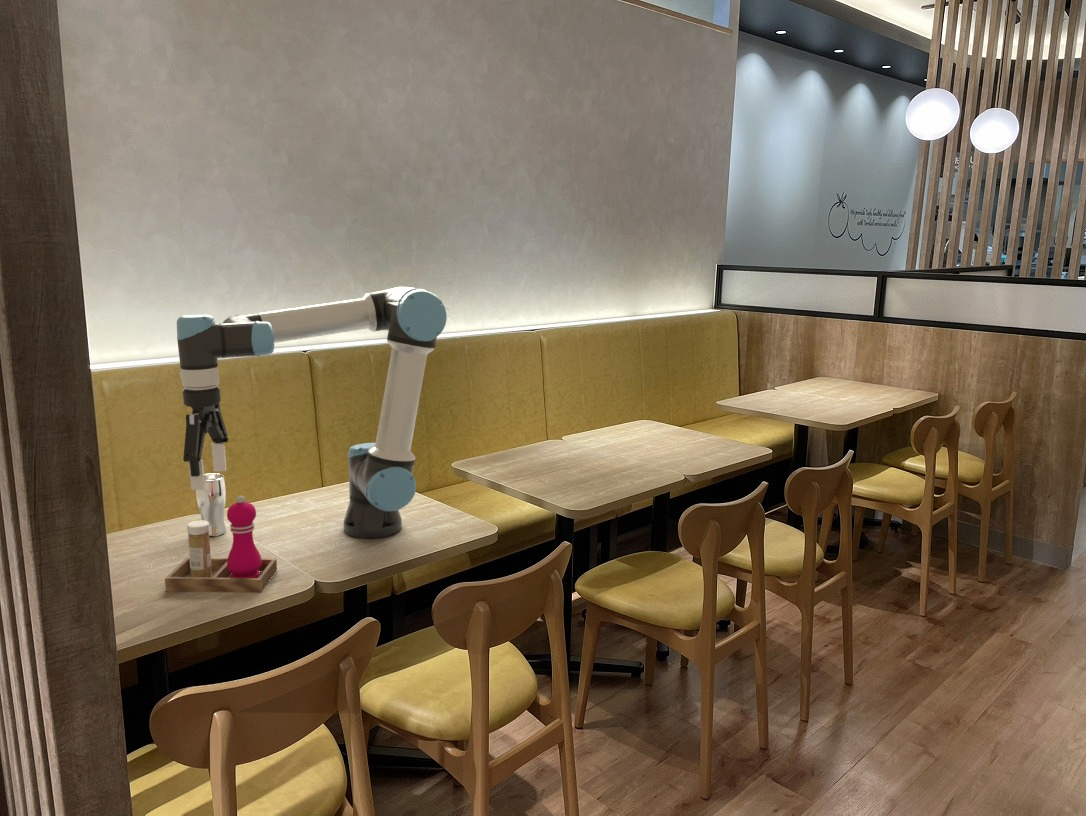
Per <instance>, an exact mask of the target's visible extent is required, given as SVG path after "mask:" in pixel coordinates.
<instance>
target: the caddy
mask: <svg viewBox="0 0 1086 816" xmlns="http://www.w3.org/2000/svg"><path fill="white" fill-rule="evenodd" d="M227 559H228V557H211V571H212V572H215V573H214V575H212V578H211V577H191V576H187V575H188V574H189V573H190V572H191V568H190V558H189V556H188V557H185V558H184V559H183V560H182V561H181V562H180V563H179V564H178V565H177V566H176V567H175V568H174V569H173V570H172V571H171V572H170V573H169V574H168V575H167V576H165V578H164V585H165V587H164V588H165V592H180V593H181V592H192V593H194V592H195V593H206V592H207V593H248V594H249V593H251V594H252V593H253V594H255V593H257V594H258V593H259V594H261V593H262V592H263V591H264V590H265V588H266V587H267V585H268V584H269V583H270V581H271V580H272V578H273V577H274V576H275V574H276V573H277V572H276V570H277V571H278V565H277V564H278V561H277V559H278V558H267V557H266V558H264V557H263V558H262V557H261V561H262V563H261V566H260V568H259V569H258V571H263V572H260V576H259V577H258V578H230V575H231V573H232V572H230V571H229V570H228V568H227ZM275 572H276V573H275ZM274 573H275V574H274ZM273 575H274V576H273ZM272 576H273V577H272ZM271 577H272V578H271ZM270 579H271V580H270ZM269 580H270V581H269ZM268 582H269V583H268ZM267 583H268V584H267ZM265 586H266V587H265Z"/></svg>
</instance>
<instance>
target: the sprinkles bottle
mask: <svg viewBox="0 0 1086 816" xmlns="http://www.w3.org/2000/svg"><path fill="white" fill-rule="evenodd" d="M186 530H187V531H186V533H187V535H188V555H189V556H188V557H189V558H190V568H191V571H190V577H211V578H212V577H213V575H212V573H213V571H211V558H212V557H211V555H212V554H211V545H210V537H209V530H210V526H209V522H207V521H203V520H202V519H200V520H194V521H190V522H188V523H187V525H186Z"/></svg>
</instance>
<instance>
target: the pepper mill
mask: <svg viewBox="0 0 1086 816" xmlns="http://www.w3.org/2000/svg"><path fill="white" fill-rule="evenodd" d="M235 500H236V502H235V503H232V504H230V506H229V507H228V509H227V511H226V519H227V520H228V522H229V523H231V524H230V525H229V527H230V530H229V531H230V532H231V533H232V545H231V548H230V551H229V553H228V555H227V558H228V559H227V568H228V570H229V571H230V572H232V573H231V575H230V576H229V578H258V577H259V576H260V575H261V572H259V571H258V569H259V568H260V566H261V563H262V561H261V558H262V556H261V553H260V552H259V549H258V547H256V544H255V541H254V537H253V534H254V533H253V532H254V530H255V522H254V520H255V519H256V516H257V511H256V507H255V505H254V504H252V503H251V502H248V501H246V497H245V496H244V495H239V496H237V497H236V499H235Z"/></svg>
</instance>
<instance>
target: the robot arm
mask: <svg viewBox="0 0 1086 816" xmlns="http://www.w3.org/2000/svg"><path fill="white" fill-rule="evenodd" d="M446 325H447V310H446V307H445V305H444V303H443V302H442V300H441V298H440V297H438V296H437V295H436V294H434V293H433V292H431V291H429V290H427V289H424V288H416V287H412V286H407V285H403V286H402V285H401V286H397V287H393V288H388V289H384V290H380V291H373V292H367V293H365V294H364V295H363V297H362V298H355V299H348V300H347V299H346V300H342V301H340V300H339V301H335V302H328V303H322V304H321V303H320V304H313V305H306V306H300V307H295V308H294V307H293V308H285V309H279V310H272V311H265V312H258V313H251V314H246V315H242V314H233V315H230V316H228V317H226V318H225V319H224V320H223V321H222V323H217V322H216V321H215V320H214V316H213V315H212V314H211V315H210V314H187V315H181V316H180V317H178V318H177V320H176V339H177V348H178V357H179V365H180V371H179V373H178V376H180V377H181V385H182V386H183V389H182V400H183V405H184V406H186V407H189V408H191V409H192V412H191V414H186V415H185V423H186V424H185V434H184V435H185V437H184V447H183V462H184V463H185V462H186V463H187V462H188V468H189V470H188V471H189V478H190V489H191V491H196V490H205V489H206V488H205V478H204V474H205V471H204V470H205V469H204V461H203V459H202V455H203V449H204V443H205V437H206V434H208V435H209V438H210V439H211V442H212V443H211V444H210V446H211V458H212V468H213V472H226V471H227V459H226V447H225V446H226V445H225V443H229V437H228V431H227V429H226V425H225V422H224V418H223V414H222V411H221V405H220V403H221V401H222V397H221V387H220V386H219V384H220V382H221V380H220V374H219V364H218V359H226V358H239V357H240V358H242V357H243V358H244V357H258V358H259V357H262V356H269V355H272V354H273V353H274V350H275V344H277V343H282V342H290V341H296V340H297V341H298V340H302V339H307V338H315V337H321V336H327V335H328V336H329V335H333V334H334V335H335V334H340V333H347V332H354V331H361V330H366V329H368V330H369V331H371V332H379V331H387V336H386V341H387V343H388V344H389V346H390V347H391V351H390V357H389V365H388V367H387V368H388V370H387V375H386V380H385V381H386V382H385V387H384V392H383V393H384V394H383V397H382V405H381V409H380V416H379V421H378V428H377V433H376V439H375V442H367V443H365V442H364V443H359V444H358V443H357V444H354V445H352V446H350V448H349V449H348V457H347V460H348V482H349V483H348V486H349V487H348V488H349V491H348V492H349V503H348V506H347V509H346V513H345V516H344V519H343V523H342V524H343V532H344V533H345V534H346V535H348V536H350V537H353V538H360V539H377V538H378V539H379V538H384V537H390V536H393V535H395V534H397V533H399V532H400V531H401V530H400V529H402V527H403V520H402V517H401V514H400V510H401V509H403V508H405V507H406V506H407V505H409V504H410V503H411V502H412V500H413V498H414V497H415V494H416V492H417V491H416V490H417V482H416V479H415V476H414V474H413V473H414V469H415V461H416V456H415V455H414V453H413V452H412V450H411V449H412V443H413V437H414V431H415V426H416V420H417V414H418V409H419V404H420V397H421V392H422V387H423V381H424V375H425V369H426V364H427V358H428V354H430V353H431V352H433V351H434V350H435V349H436V345H437V344H436V343H437V338H438V337H439V336H440V334H441V333H442V332H443V331H444V329H445V327H446ZM399 530H400V531H399ZM398 531H399V532H398ZM396 532H397V533H396ZM394 533H395V534H394ZM392 534H393V535H392Z"/></svg>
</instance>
